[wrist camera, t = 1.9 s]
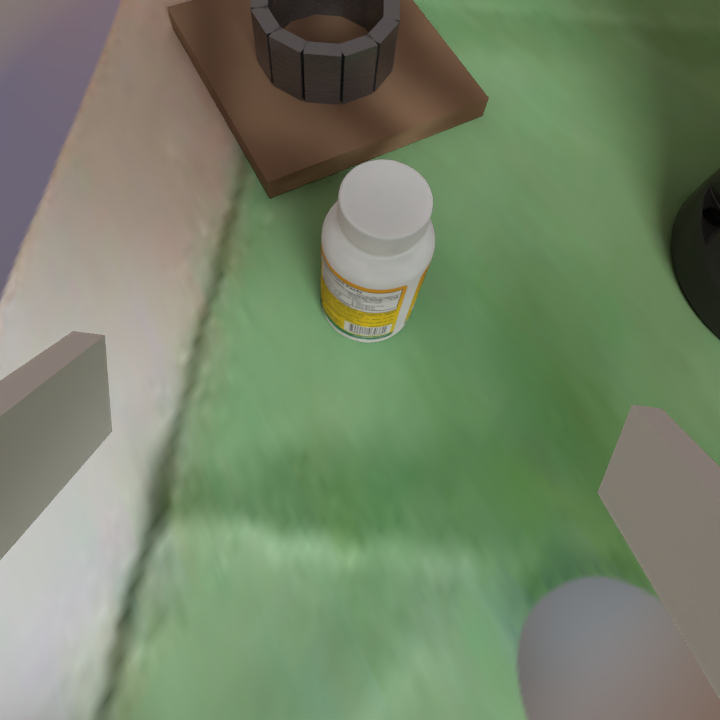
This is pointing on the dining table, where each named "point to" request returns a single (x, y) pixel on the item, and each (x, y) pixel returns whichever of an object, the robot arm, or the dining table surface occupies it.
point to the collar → (326, 48)
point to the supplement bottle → (376, 250)
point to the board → (315, 120)
